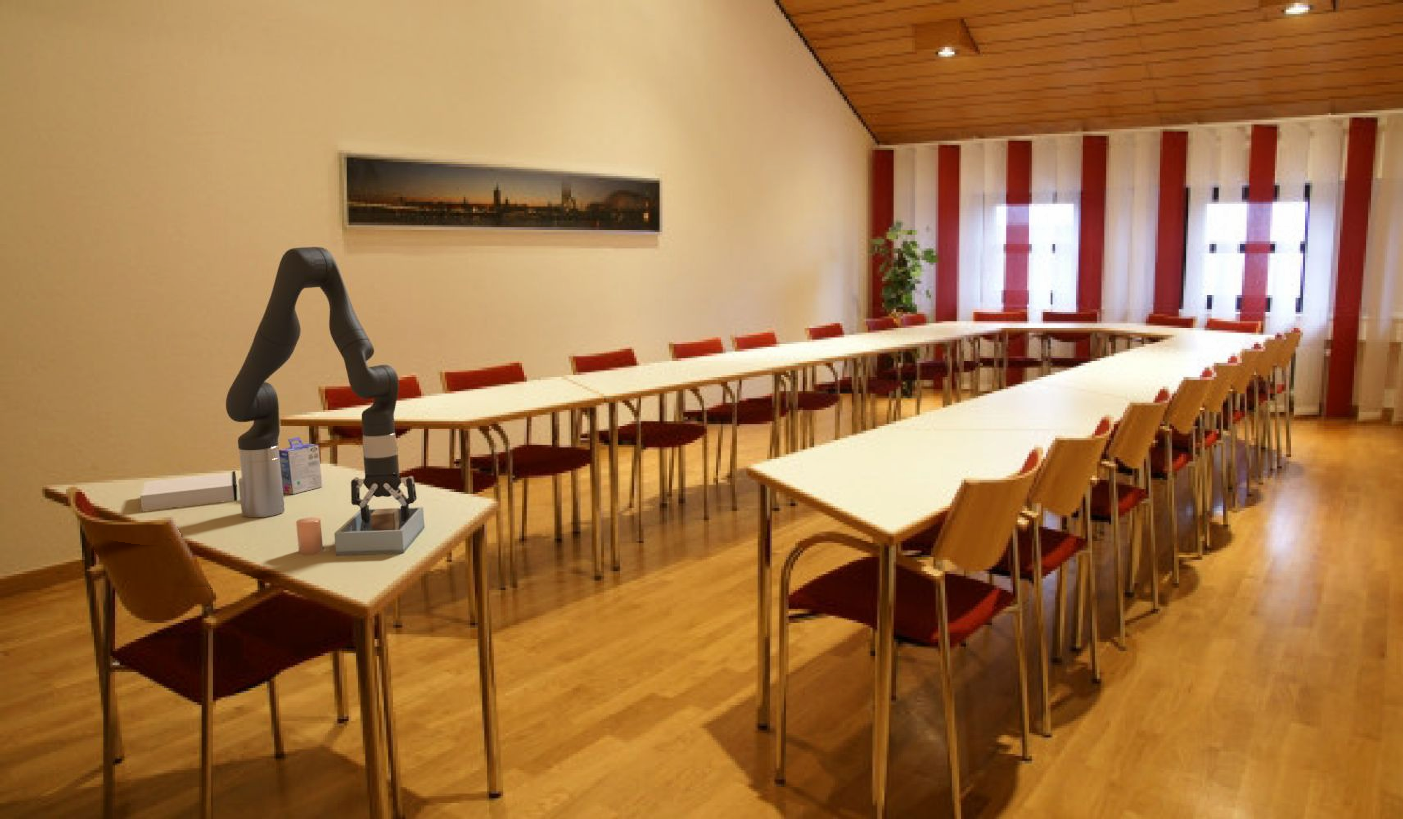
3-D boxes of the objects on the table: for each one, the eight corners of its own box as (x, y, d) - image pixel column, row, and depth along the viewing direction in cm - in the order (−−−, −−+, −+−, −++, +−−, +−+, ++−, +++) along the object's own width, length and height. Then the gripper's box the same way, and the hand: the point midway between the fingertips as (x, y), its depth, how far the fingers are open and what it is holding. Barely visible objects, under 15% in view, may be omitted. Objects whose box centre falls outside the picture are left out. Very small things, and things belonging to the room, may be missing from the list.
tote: (336, 555, 219) (334, 533, 218) (362, 529, 238) (360, 509, 238) (403, 553, 220) (402, 530, 219) (424, 527, 239) (423, 507, 238)
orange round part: (295, 555, 220) (292, 524, 219) (303, 548, 225) (300, 517, 224) (318, 554, 220) (316, 523, 219) (326, 547, 225) (323, 517, 224)
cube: (372, 536, 230) (370, 514, 229) (378, 529, 235) (376, 509, 234) (394, 535, 230) (392, 514, 230) (399, 529, 235) (398, 508, 235)
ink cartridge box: (311, 485, 284) (306, 434, 282) (323, 487, 282) (319, 436, 279) (280, 492, 276) (275, 441, 274) (293, 495, 273) (288, 442, 271)
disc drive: (237, 502, 269) (235, 484, 268) (142, 513, 260) (139, 494, 259) (237, 488, 285) (235, 470, 284) (147, 498, 275) (145, 480, 274)
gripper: (343, 457, 226) (349, 527, 228) (407, 455, 226) (413, 525, 229) (353, 450, 233) (359, 518, 236) (415, 448, 234) (420, 516, 236)
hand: (385, 521), depth 232 cm, fingers open, 8 cm apart
